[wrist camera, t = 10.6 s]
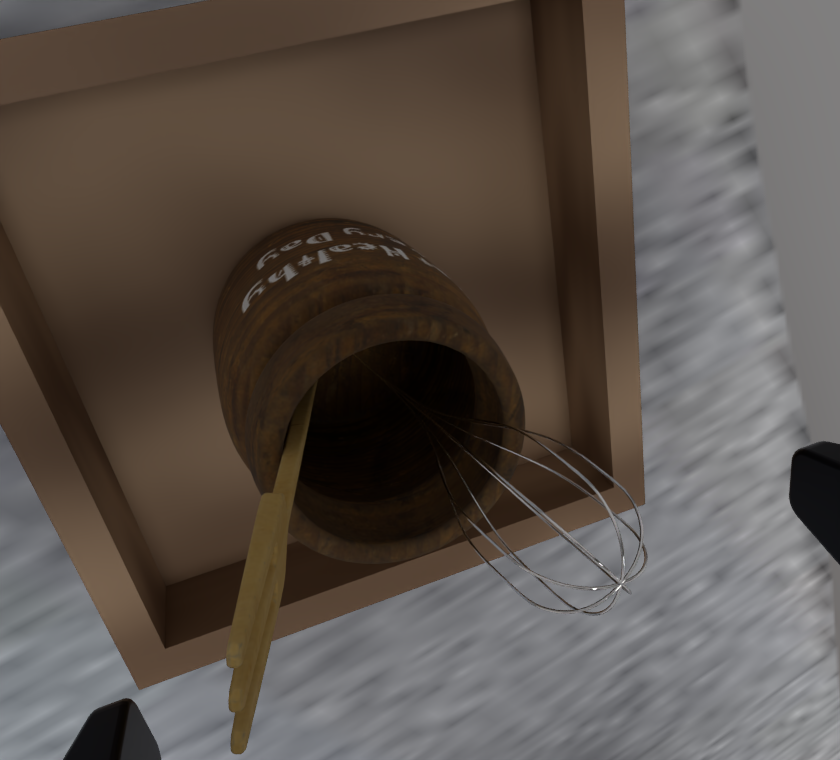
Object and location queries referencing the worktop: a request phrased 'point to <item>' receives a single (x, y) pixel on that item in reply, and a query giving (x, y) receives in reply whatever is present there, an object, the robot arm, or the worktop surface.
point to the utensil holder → (363, 419)
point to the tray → (272, 211)
